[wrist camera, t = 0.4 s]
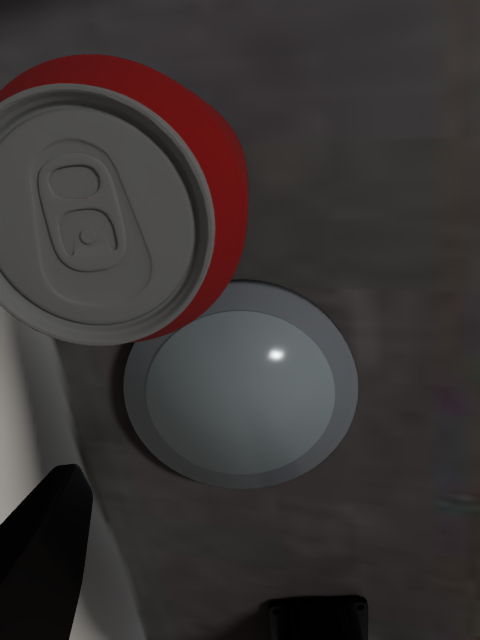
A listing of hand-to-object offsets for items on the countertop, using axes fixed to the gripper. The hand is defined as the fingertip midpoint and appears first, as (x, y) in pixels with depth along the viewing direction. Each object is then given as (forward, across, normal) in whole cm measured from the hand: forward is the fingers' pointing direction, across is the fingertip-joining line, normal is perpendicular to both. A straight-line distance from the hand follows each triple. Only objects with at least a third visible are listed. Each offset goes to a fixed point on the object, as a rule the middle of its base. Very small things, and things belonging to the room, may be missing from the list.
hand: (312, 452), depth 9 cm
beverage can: (+15, +4, -2) cm, 16 cm away
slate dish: (+13, +3, +9) cm, 16 cm away
